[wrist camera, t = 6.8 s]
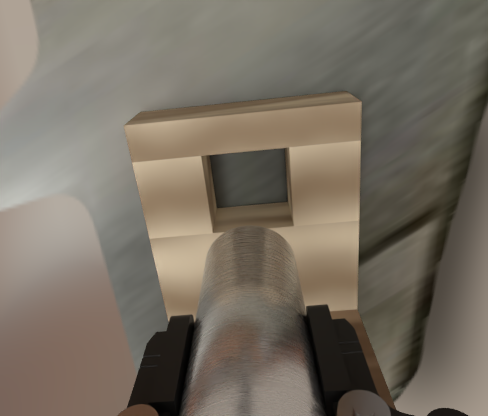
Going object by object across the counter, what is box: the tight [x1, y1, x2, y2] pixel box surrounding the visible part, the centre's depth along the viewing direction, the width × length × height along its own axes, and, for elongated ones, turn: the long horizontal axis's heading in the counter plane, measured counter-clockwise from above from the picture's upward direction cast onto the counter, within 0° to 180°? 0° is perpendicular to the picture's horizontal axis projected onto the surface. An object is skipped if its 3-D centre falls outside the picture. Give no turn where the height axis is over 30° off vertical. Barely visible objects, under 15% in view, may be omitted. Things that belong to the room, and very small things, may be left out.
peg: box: [179, 225, 327, 416], centre depth 12 cm, size 4×4×12 cm
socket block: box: [124, 91, 396, 410], centre depth 20 cm, size 18×17×25 cm
